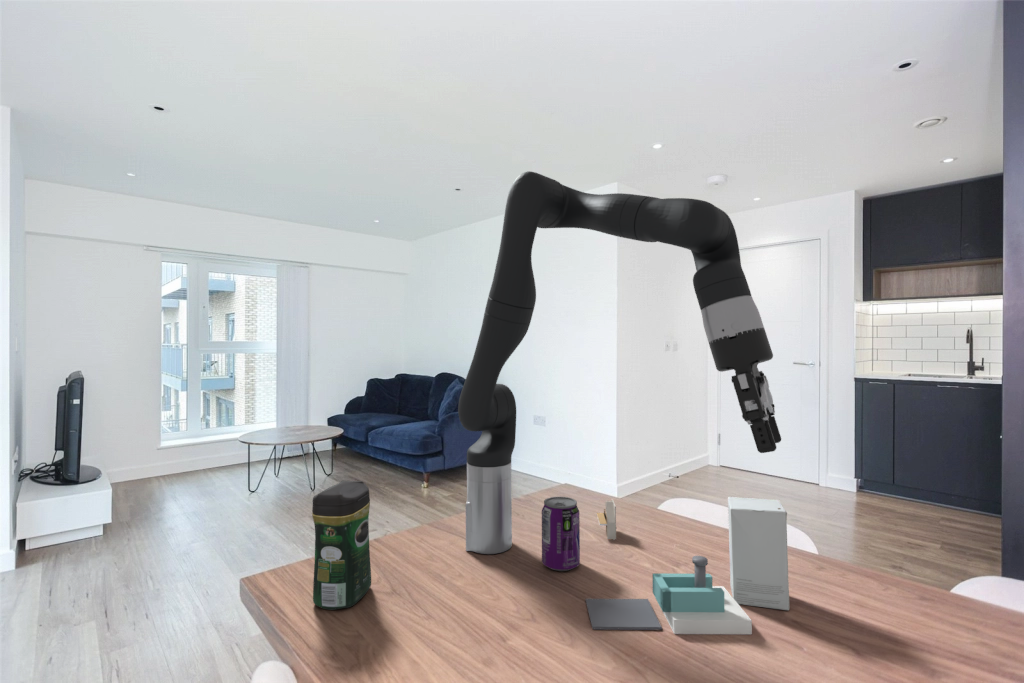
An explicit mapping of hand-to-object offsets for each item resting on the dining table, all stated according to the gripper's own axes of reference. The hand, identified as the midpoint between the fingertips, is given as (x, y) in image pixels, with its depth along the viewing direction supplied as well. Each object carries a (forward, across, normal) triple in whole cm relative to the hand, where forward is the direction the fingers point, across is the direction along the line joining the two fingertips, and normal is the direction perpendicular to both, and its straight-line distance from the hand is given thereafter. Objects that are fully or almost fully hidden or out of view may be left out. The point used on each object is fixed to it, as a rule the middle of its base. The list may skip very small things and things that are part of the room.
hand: (771, 447), depth 68 cm
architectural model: (+16, -28, -40) cm, 51 cm away
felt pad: (+21, +1, -27) cm, 34 cm away
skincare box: (+25, -15, -11) cm, 31 cm away
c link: (+21, -4, -18) cm, 28 cm away
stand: (+23, -5, -17) cm, 29 cm away
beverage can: (+16, -9, -42) cm, 46 cm away
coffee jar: (+10, +20, -67) cm, 71 cm away
